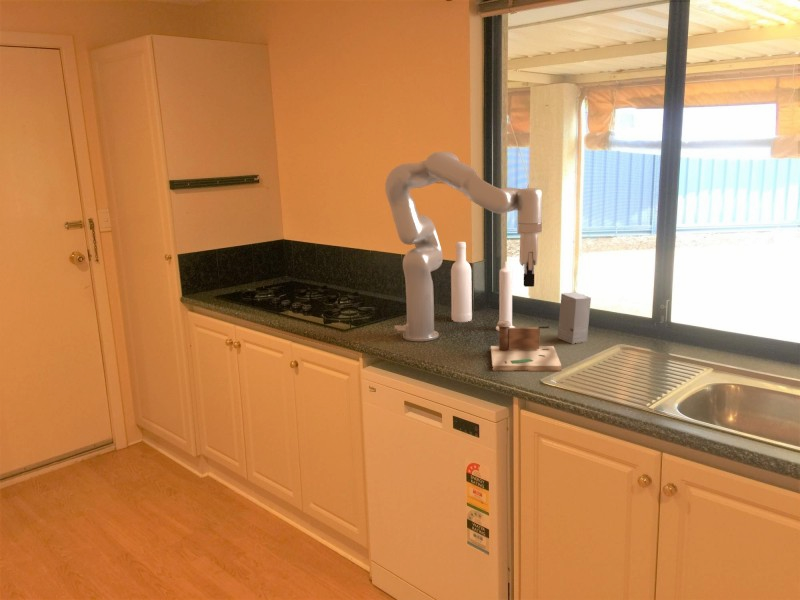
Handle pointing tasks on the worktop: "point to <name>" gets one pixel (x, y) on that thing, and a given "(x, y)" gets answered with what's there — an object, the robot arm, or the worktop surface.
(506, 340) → the peg
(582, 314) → the skincare box
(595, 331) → the worktop surface
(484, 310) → the worktop surface
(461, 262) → the bottle
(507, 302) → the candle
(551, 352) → the tuner plate
